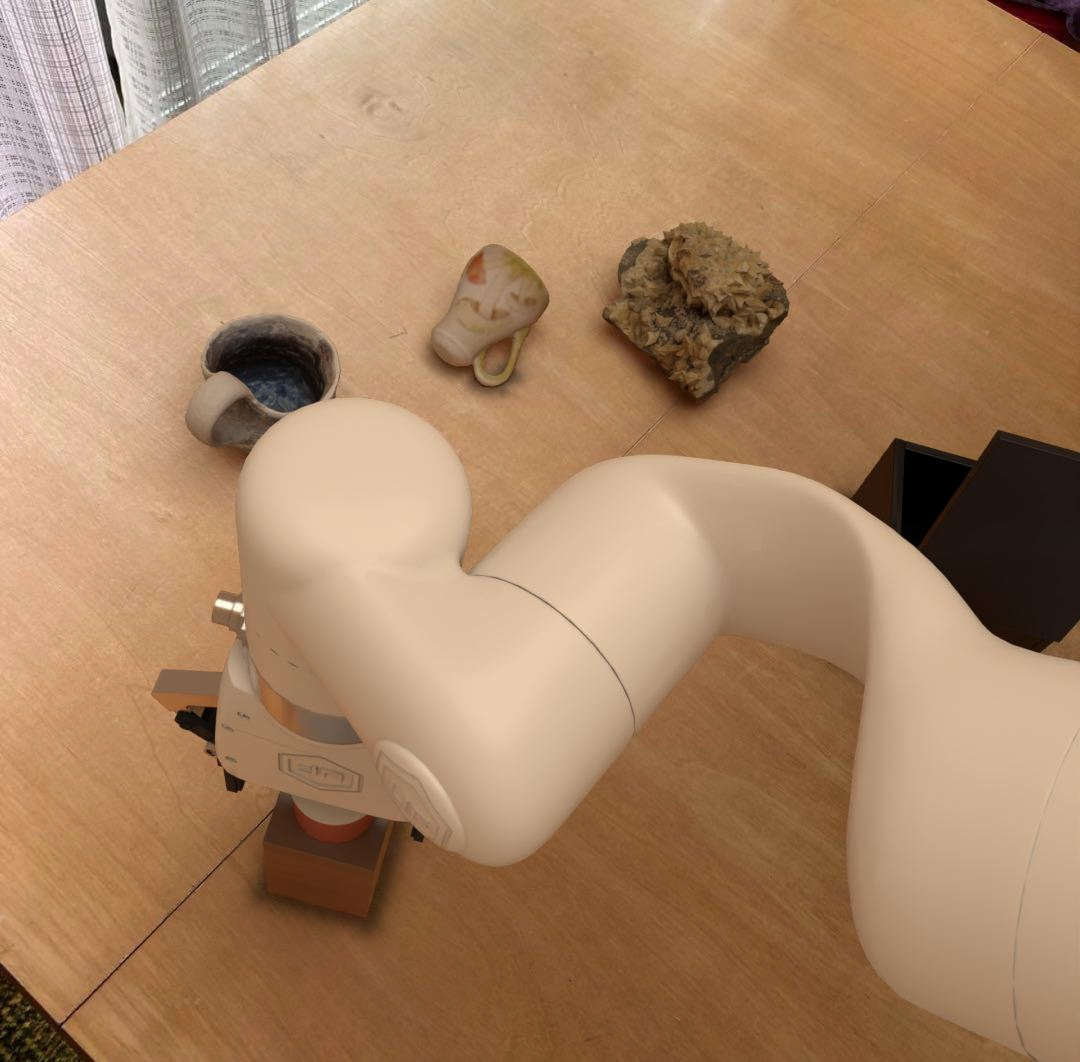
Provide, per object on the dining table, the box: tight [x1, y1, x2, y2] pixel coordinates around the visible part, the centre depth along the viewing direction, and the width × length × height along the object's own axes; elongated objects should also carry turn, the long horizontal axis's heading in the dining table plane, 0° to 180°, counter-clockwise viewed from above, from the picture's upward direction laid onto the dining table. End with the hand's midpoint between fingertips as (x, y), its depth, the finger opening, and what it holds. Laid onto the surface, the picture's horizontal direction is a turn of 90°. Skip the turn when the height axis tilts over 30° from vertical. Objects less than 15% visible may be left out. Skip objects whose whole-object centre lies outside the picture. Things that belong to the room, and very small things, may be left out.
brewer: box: [850, 437, 1054, 654], centre depth 84 cm, size 14×12×9 cm
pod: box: [291, 794, 375, 843], centre depth 60 cm, size 5×5×4 cm
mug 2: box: [430, 243, 550, 387], centre depth 91 cm, size 8×10×10 cm
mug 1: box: [184, 312, 342, 454], centre depth 81 cm, size 10×12×10 cm
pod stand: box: [262, 791, 395, 919], centre depth 66 cm, size 6×6×10 cm
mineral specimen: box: [601, 221, 791, 404], centre depth 93 cm, size 14×13×10 cm
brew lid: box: [917, 429, 1080, 644], centre depth 71 cm, size 14×12×1 cm
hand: (334, 789), depth 60 cm, fingers open, 9 cm apart
